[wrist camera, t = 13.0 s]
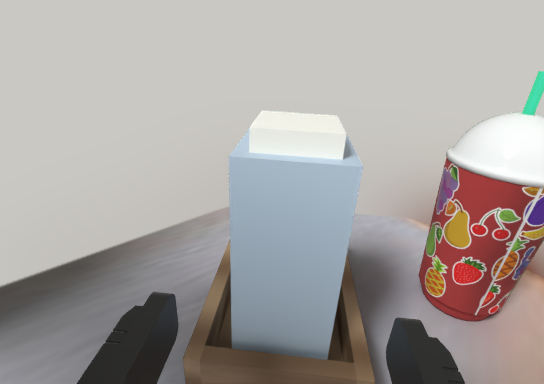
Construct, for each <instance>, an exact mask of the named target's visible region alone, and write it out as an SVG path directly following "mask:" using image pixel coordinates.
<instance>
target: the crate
mask: <svg viewBox="0 0 544 384" xmlns="http://www.w3.org/2000/svg"><path fill="white" fill-rule="evenodd" d="M183 364H184V372H185V381H186V384H375V379H374V374H373V369H372V365H371V360H370V356H369V351H368V346H367V342H366V337H365V333H364V328H363V323H362V319H361V314H360V310H359V305H358V300H357V296H356V291H355V287H354V282H353V278H352V273H351V268H350V264H349V259H348V255H347V256H346V261H345V267H344V272H343V277H342V283H341V288H340V293H339V299H338V304H337V310H336V315H335V320H334V326H333V331H332V336H331V342H330V347H329V353H328V358H327V360H324V359H315V358H307V357H298V356H290V355H281V354H273V353H264V352H256V351H247V350H239V349H232V327H231V264H230V240H229V243H228V245H227V248H226V250H225V253H224V255H223V258H222V260H221V263H220V266H219V268H218V271H217V273H216V276H215V278H214V281H213V283H212V286H211V288H210V291H209V293H208V296H207V299H206V301H205V304H204V306H203V309H202V311H201V314H200V316H199V319H198V321H197V324H196V327H195V329H194V332H193V334H192V337H191V339H190V342H189V344H188V347H187V349H186V352H185V355H184V357H183Z"/></svg>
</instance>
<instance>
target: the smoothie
mask: <svg viewBox="0 0 544 384" xmlns="http://www.w3.org/2000/svg"><path fill="white" fill-rule="evenodd" d="M543 91H544V72H541V71H539V72H538V75H537V77H536V80H535V82H534V85H533V87H532V90H531V92H530V95H529V98H528V100H527V102H526V105H525V107H524V110H523V112H513V113H507V114H502V115H498V116H494V117H491V118H488V119H486V120H484V121H481V122H480V123H478V124H477V125H475V126H473V127H472V128H471V129H469V130H468V131H467V132H466V133H465V134H464V135H463V136H462V137H461V138H460V140H459V141H458V142H457V143H456V145H455V146H453V147H450V148H449V149H448V150H447V152H446V157H447V158H446V162H445V165H444V169H443V174H442V178H441V183H440V186H439V191H438V195H437V199H436V204H435V208H434V212H433V217H432V221H431V225H430V229H429V234H428V238H427V242H426V246H425V251H424V255H423V259H422V263H421V268H420V272H419V278H420V282H421V284H422V290H423V293H424V295H425V296H426V298H427V299H428V300H429V301H430V302H431V303H432V304H433V305H434V306H435V307H436V308H438V309H440V310H441V311H443V312H444V313H446V314H448V315H451V316H453V317H455V318H458V319H463V320H467V321H479V320H483V319H486V317H487V316H489V315H492V314H495V313H498V312H499V310H500V309H501V308H502V306H503V305H504V303H505V301H506V300H507V298H508V297H509V295H510V293H511V292H512V290H513V289H514V287H515V285H516V284H517V282H518V281H519V279H520V277H521V276H522V274H523V273H524V271H525V269H526V268H527V266H528V265H529V263H530V261H531V260H532V258H533V257H534V255H535V253H536V252H537V250H538V249H539V247H540V245H541V244H542V242H543V241H544V117H543V116H541V115H538V114H534V113H535V111H536V108H537V106H538V103H539V101H540V98H541V96H542V93H543Z"/></svg>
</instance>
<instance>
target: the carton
mask: <svg viewBox="0 0 544 384" xmlns="http://www.w3.org/2000/svg"><path fill="white" fill-rule="evenodd" d="M362 170H363V166H362V164H361V162H360V160H359V158H358V156H357V154H356V152H355V150H354V148H353V146H352V144H351V142H350V140H349V138H348V136H347V134H346V132H345V130H344V128H343V126H342V124H341V122H340V120H339V118H338V116H336V115H321V114H320V115H319V114H306V113H291V112H275V111H262V112H261V113H260V114H259V116H258V117H257V118H256V120H255V121H254V122H253V124H252V125H251V126H250V129H249V130H248V131H247V133H246V134H245V135H244V137H243V138H242V139H241V141H240V142H239V143H238V145H237V146H236V147H235V149H234V150H233V152H232V153H231V154H230V156H229V201H230V264H231V327H232V349H239V350H247V351H256V352H264V353H273V354H281V355H290V356H298V357H307V358H315V359H324V360H327V358H328V353H329V347H330V342H331V336H332V331H333V326H334V320H335V315H336V310H337V304H338V299H339V293H340V288H341V283H342V277H343V272H344V267H345V261H346V256H347V250H348V245H349V240H350V234H351V229H352V223H353V218H354V213H355V207H356V202H357V196H358V191H359V186H360V180H361V175H362Z"/></svg>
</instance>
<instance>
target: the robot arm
mask: <svg viewBox="0 0 544 384" xmlns="http://www.w3.org/2000/svg"><path fill="white" fill-rule="evenodd" d="M177 332H178V316H177V308H176V299H175V295H174V294H168V293H158V292H153V293H152V294H151V295H150V296H149V298H148V299H147V301H146V302H145V304H144V306H135V307H133V308H132V309H131V310H130V311H128V312H127V313H126V314H125V315H123V316H122V318H121V319H120V321H119V322H118V324H117V325H116V327H115V328H114V329H113V332H111V334H110V335H109V337H108V338H107V340H106V343H105V344H103V346H102V347H101V349H100V350H99V352H98V353H97V355H96V356H95V357H94V359H93V360H92V362H91V363H90V365H89V366H88V368H87V369H86V371H85V372H84V374H83V375H82V377H81V378H80V380H79V381H78V383H77V384H157V381H158V379H159V377H160V374H161V372H162V370H163V368H164V365H165V363H166V361H167V358H168V356H169V354H170V352H171V349H172V347H173V345H174V342H175V340H176V337H177ZM386 360H387V366H388V369H389V373H390V377H391V380H392V384H465V382H464V380H463V378H462V376H461V374H460V372H458V368H457V366H456V364H455V362H454V360H453V358H452V356H451V353H450V352H449V351H448V350H447V349H446V348H445V346H444V345H443V344H442V343H441V342H440V341H439V340H438V339H437V338H432V337H428V335H427V332H426V330H425V328H424V326H423V324H422V322H421V321H420V320H416V319H406V318H396V319H395V321H394V324H393V328H392V331H391V334H390V338H389V341H388V344H387V349H386Z"/></svg>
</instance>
